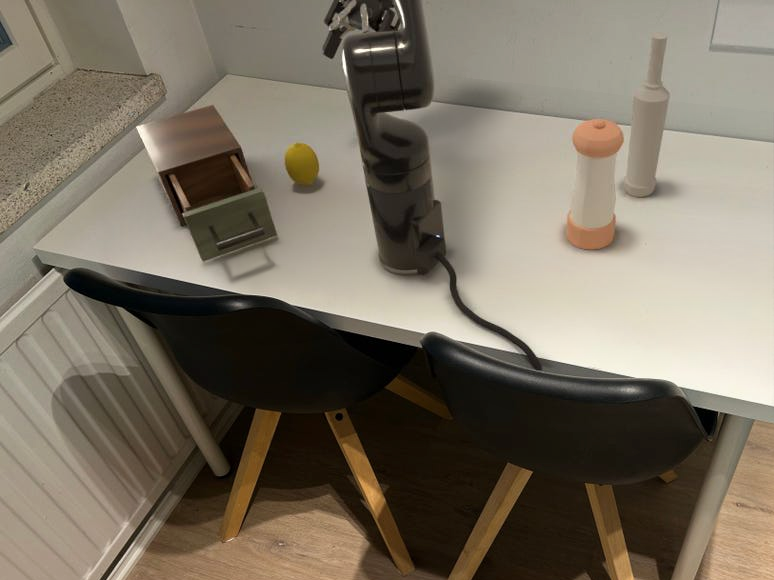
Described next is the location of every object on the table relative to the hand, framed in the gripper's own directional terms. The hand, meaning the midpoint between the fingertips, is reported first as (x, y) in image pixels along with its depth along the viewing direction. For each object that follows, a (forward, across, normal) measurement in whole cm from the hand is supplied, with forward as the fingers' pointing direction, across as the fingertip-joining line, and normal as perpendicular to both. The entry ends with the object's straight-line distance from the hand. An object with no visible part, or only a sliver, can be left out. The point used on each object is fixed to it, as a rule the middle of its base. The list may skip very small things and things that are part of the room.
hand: (342, 64), depth 116 cm
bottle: (-5, +43, +30) cm, 53 cm away
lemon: (+20, 0, +4) cm, 21 cm away
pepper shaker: (+5, +45, +19) cm, 49 cm away
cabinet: (+29, -12, -5) cm, 32 cm away
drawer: (+31, +3, -9) cm, 33 cm away
